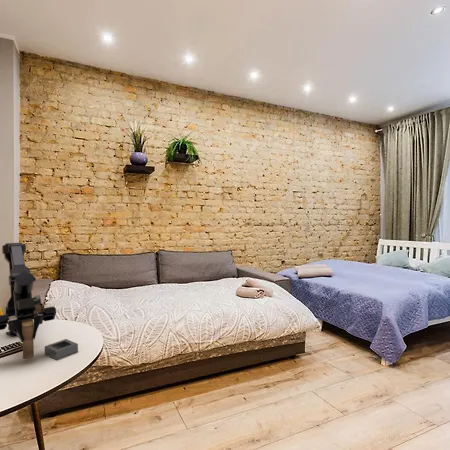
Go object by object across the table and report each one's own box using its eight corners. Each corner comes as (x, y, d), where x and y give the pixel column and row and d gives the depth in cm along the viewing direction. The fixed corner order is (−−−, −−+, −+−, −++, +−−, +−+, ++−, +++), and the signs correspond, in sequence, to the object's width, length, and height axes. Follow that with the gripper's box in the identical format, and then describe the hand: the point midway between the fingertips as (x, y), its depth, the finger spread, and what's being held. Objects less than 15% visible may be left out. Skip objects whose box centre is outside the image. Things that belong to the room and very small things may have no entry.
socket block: (44, 354, 115) (44, 346, 115) (66, 346, 121) (65, 338, 121) (56, 360, 110) (56, 351, 110) (77, 351, 117) (77, 343, 117)
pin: (20, 357, 109) (20, 320, 108) (31, 354, 111) (30, 318, 111) (25, 360, 107) (24, 322, 106) (35, 356, 109) (34, 320, 109)
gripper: (-8, 293, 105) (-5, 335, 97) (54, 284, 117) (61, 322, 109) (-9, 310, 112) (-6, 351, 104) (50, 300, 123) (57, 337, 115)
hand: (28, 339), depth 108 cm, fingers closed on pin, 3 cm apart
